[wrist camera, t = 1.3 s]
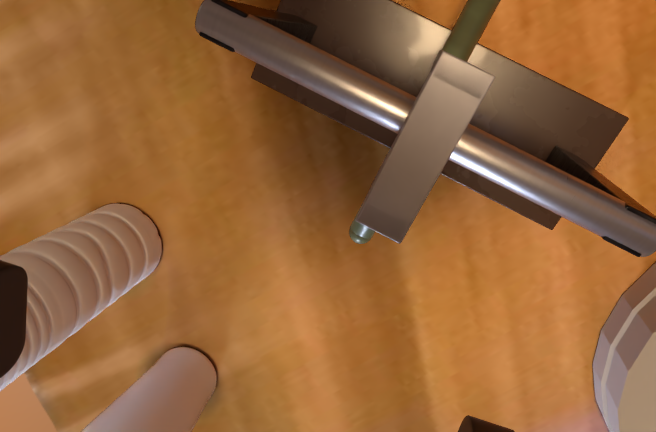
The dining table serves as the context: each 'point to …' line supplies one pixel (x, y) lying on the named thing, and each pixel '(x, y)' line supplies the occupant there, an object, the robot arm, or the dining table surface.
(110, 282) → the water bottle
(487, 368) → the dining table surface
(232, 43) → the rail stand
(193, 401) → the drinking glass
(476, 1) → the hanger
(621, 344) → the dish
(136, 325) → the dining table surface
